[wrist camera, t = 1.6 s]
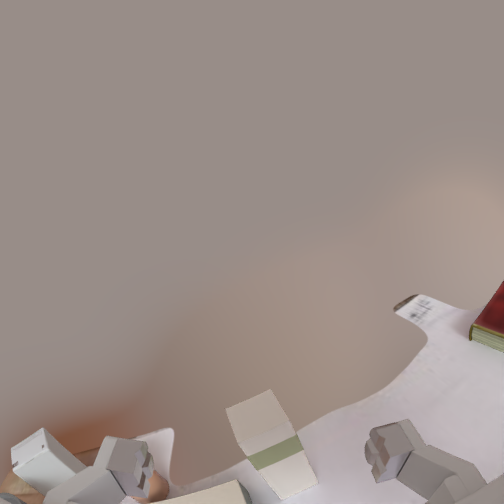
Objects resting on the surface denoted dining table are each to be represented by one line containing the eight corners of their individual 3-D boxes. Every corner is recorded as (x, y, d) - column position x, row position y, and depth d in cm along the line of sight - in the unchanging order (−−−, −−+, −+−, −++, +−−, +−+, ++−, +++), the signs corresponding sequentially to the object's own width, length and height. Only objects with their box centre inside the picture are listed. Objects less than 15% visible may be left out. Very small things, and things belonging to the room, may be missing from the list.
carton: (302, 457, 32) (271, 388, 28) (319, 483, 28) (290, 420, 23) (267, 473, 31) (224, 408, 27) (281, 500, 27) (237, 444, 22)
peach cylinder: (167, 472, 35) (146, 452, 33) (171, 502, 29) (148, 484, 27) (134, 480, 34) (112, 460, 32) (136, 509, 28) (111, 491, 26)
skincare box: (103, 479, 34) (45, 423, 29) (115, 502, 29) (49, 447, 25) (70, 498, 29) (9, 445, 25) (79, 522, 24) (10, 469, 20)
